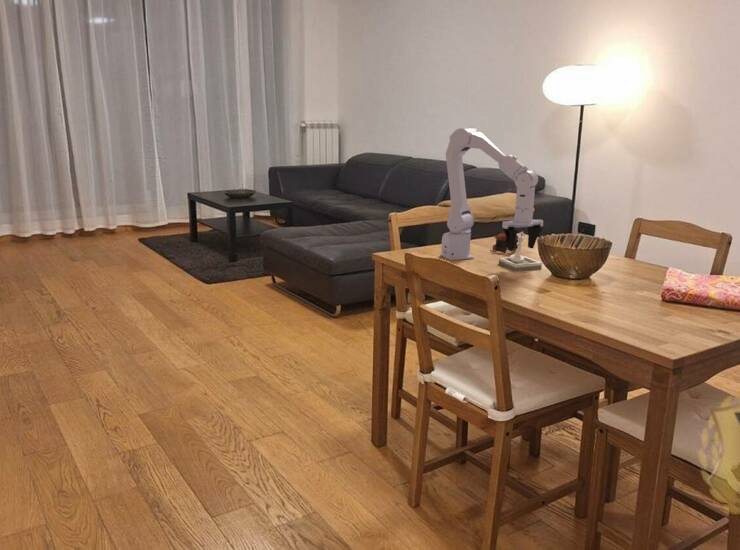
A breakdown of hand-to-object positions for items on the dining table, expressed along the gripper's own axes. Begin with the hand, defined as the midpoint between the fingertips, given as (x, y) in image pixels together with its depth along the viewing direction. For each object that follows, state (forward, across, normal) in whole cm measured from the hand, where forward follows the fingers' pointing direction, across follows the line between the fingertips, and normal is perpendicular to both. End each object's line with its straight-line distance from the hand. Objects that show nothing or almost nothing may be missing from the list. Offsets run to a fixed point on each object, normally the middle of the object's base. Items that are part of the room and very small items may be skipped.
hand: (520, 248), depth 216 cm
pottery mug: (+6, +8, +21) cm, 23 cm away
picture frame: (+6, 0, 0) cm, 6 cm away
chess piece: (+4, 0, +2) cm, 5 cm away
